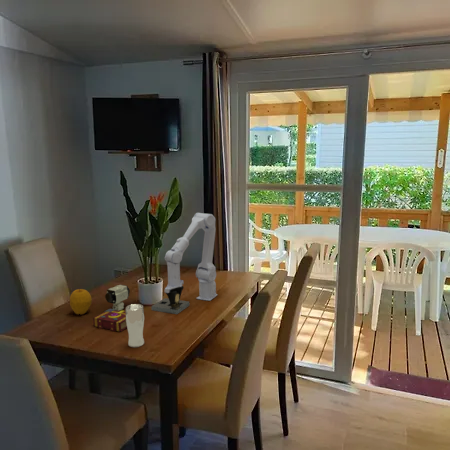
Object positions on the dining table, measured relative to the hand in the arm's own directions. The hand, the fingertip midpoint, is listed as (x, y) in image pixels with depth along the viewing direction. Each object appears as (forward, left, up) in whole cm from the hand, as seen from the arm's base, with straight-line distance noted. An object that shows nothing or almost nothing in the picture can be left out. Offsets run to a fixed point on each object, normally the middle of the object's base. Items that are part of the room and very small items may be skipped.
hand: (174, 302), depth 191 cm
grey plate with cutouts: (0, -2, -3) cm, 4 cm away
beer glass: (+38, +5, -3) cm, 38 cm away
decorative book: (+26, -16, -3) cm, 30 cm away
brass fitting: (0, 0, -2) cm, 2 cm away
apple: (+21, -38, -3) cm, 44 cm away
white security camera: (+11, -24, -3) cm, 27 cm away
